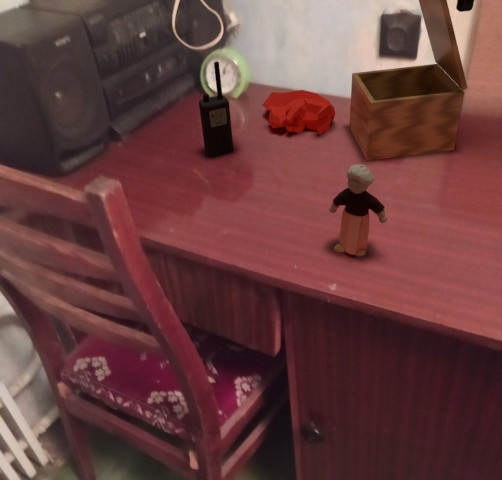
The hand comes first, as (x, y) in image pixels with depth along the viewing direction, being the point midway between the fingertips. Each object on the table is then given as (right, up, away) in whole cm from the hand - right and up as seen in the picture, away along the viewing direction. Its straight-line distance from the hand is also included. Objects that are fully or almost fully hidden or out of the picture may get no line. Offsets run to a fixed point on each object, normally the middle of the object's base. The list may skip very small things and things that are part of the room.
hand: (455, 3), depth 87 cm
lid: (-2, -3, +2) cm, 4 cm away
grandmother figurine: (-16, -38, -8) cm, 42 cm away
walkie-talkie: (-36, -17, +15) cm, 43 cm away
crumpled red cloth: (-23, -10, +22) cm, 33 cm away
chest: (-5, -16, +14) cm, 22 cm away
